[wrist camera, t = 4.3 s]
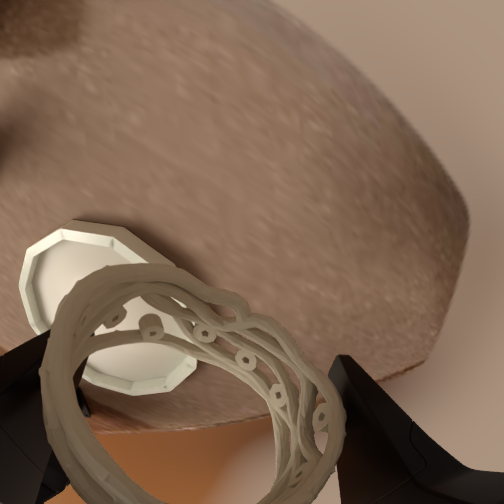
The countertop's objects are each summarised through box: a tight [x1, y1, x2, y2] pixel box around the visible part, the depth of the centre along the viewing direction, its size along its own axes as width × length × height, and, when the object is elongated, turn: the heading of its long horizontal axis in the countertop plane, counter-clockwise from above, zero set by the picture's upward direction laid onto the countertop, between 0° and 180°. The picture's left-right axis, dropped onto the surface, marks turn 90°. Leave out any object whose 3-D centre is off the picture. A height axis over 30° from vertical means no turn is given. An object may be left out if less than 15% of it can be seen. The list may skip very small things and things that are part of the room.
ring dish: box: [19, 220, 198, 396], centre depth 22 cm, size 17×17×2 cm
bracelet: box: [39, 263, 347, 504], centre depth 7 cm, size 4×8×8 cm, turn 61°
